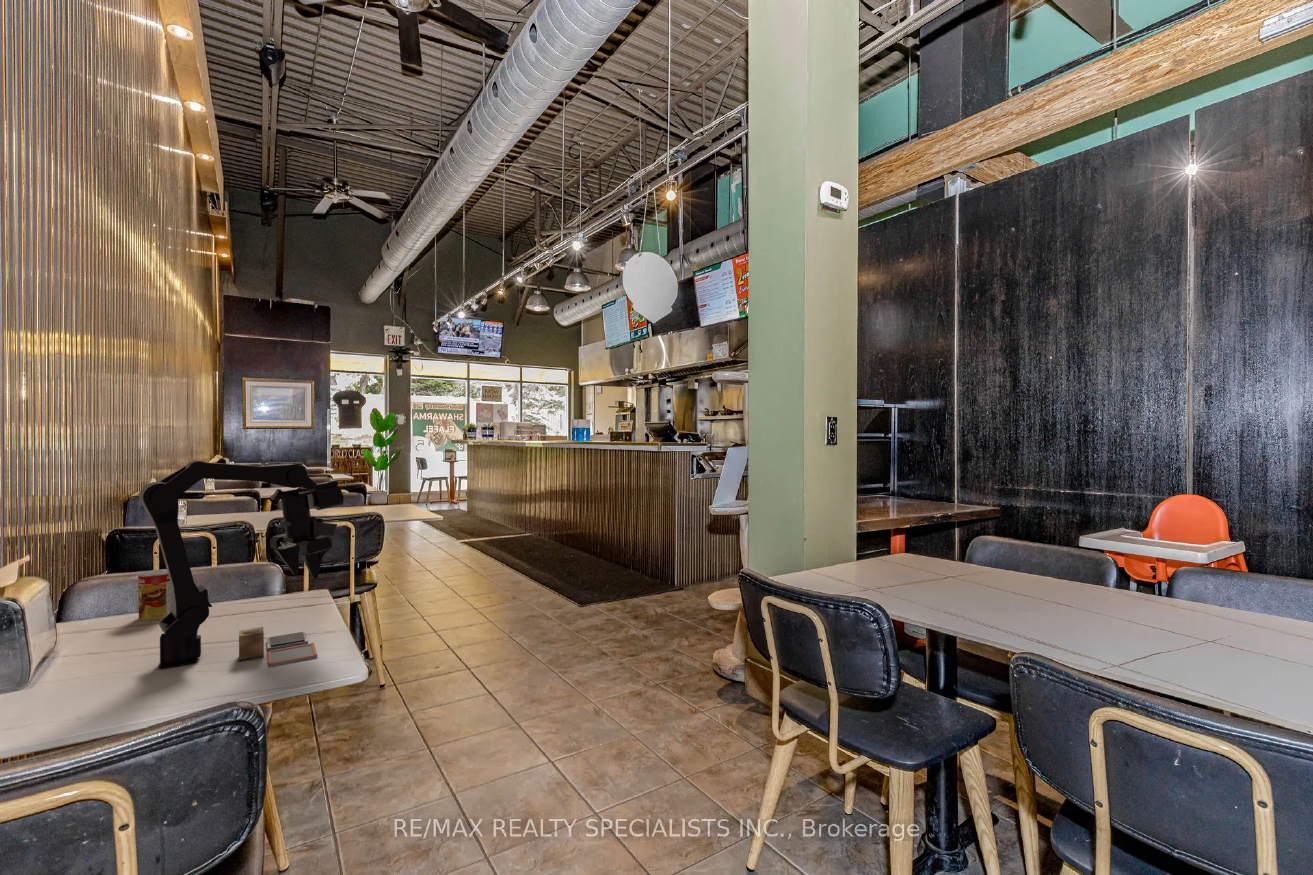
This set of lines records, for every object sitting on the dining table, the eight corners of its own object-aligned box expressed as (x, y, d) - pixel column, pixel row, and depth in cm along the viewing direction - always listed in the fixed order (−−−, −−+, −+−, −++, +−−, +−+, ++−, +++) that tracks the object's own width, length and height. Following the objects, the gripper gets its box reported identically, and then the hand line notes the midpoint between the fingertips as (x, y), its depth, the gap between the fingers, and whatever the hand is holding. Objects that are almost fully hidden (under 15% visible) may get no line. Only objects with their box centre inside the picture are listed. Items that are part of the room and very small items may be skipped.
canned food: (144, 614, 165) (144, 570, 165) (180, 610, 168) (179, 567, 168) (134, 622, 158) (133, 576, 158) (171, 618, 161) (170, 573, 161)
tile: (268, 666, 127) (268, 663, 127) (267, 653, 135) (267, 651, 135) (317, 657, 132) (317, 654, 132) (313, 645, 140) (313, 642, 140)
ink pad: (267, 651, 136) (267, 646, 136) (266, 641, 143) (266, 636, 143) (308, 644, 140) (308, 639, 140) (305, 634, 147) (305, 630, 147)
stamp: (239, 662, 130) (238, 634, 130) (239, 655, 134) (239, 629, 134) (263, 657, 132) (263, 630, 132) (263, 651, 136) (263, 625, 136)
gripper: (349, 508, 148) (358, 569, 150) (310, 505, 158) (318, 562, 160) (303, 519, 139) (313, 584, 141) (264, 515, 149) (273, 576, 151)
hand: (305, 576), depth 148 cm, fingers open, 9 cm apart
